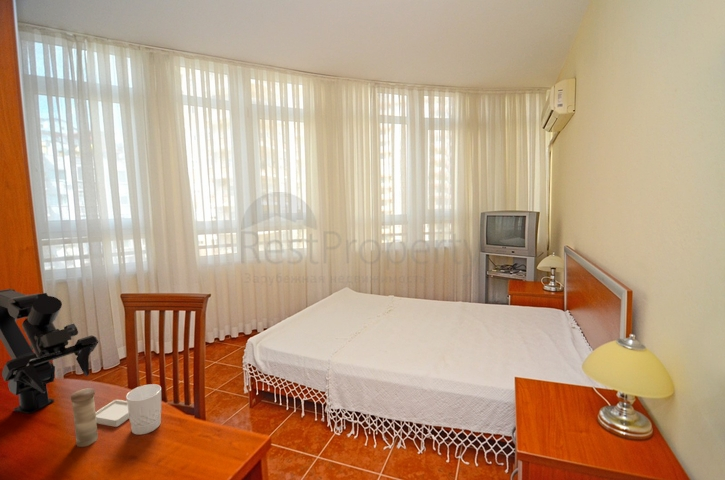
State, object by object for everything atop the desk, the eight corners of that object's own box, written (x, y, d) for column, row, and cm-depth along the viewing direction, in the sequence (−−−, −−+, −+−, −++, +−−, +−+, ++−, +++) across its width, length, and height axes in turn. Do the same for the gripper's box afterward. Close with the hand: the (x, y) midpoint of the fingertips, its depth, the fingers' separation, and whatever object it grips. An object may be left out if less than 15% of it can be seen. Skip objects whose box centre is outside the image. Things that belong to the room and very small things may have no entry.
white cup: (169, 418, 96) (167, 384, 95) (149, 437, 88) (147, 401, 87) (143, 416, 97) (141, 383, 96) (121, 435, 89) (118, 399, 88)
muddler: (70, 445, 85) (65, 397, 84) (88, 433, 90) (84, 386, 88) (85, 448, 84) (80, 399, 83) (103, 436, 89) (99, 389, 87)
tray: (89, 421, 94) (89, 415, 94) (116, 404, 102) (115, 399, 102) (116, 426, 92) (116, 420, 92) (141, 409, 100) (141, 403, 100)
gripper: (0, 329, 81) (26, 385, 77) (92, 307, 97) (117, 353, 94) (-9, 354, 85) (15, 408, 82) (80, 329, 102) (103, 373, 98)
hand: (67, 383), depth 89 cm, fingers open, 9 cm apart
